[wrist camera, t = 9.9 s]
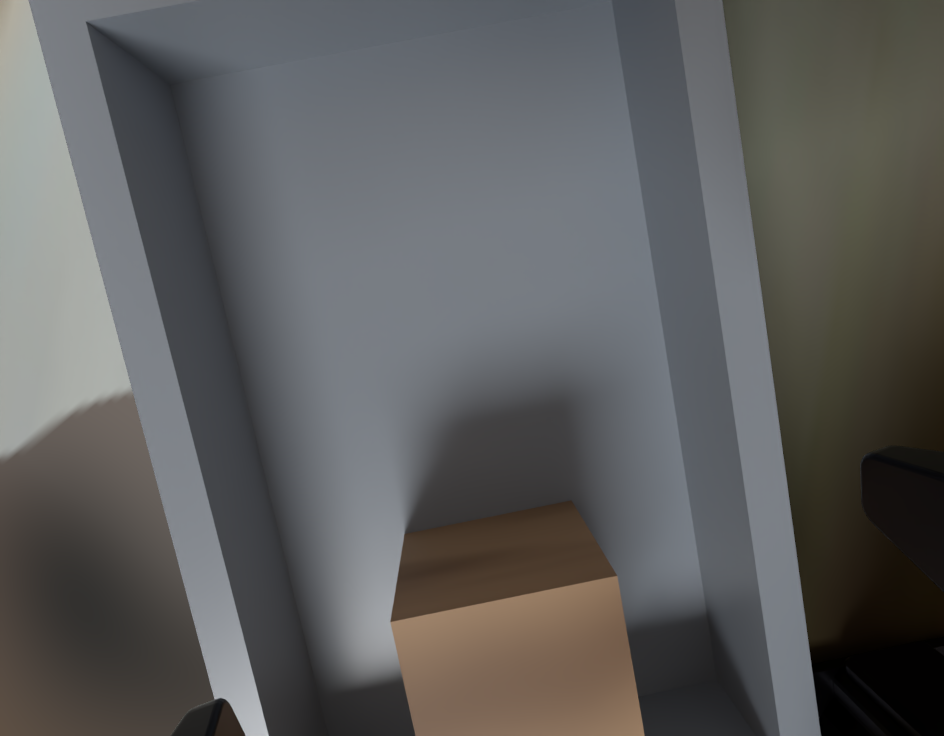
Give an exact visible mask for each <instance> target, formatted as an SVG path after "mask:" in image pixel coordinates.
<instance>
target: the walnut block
mask: <svg viewBox="0 0 944 736" xmlns="http://www.w3.org/2000/svg"><path fill="white" fill-rule="evenodd" d="M390 623H391V627H392V632H393V636H394V641H395V645H396V650H397V654H398V659H399V664H400V668H401V673H402V677H403V682H404V686H405V691H406V695H407V700H408V704H409V709H410V713H411V718H412V722H413V727H414V731H415V736H645V734H644V729H643V723H642V717H641V711H640V705H639V699H638V694H637V688H636V682H635V676H634V670H633V664H632V659H631V653H630V647H629V641H628V635H627V629H626V624H625V618H624V612H623V606H622V600H621V594H620V589H619V583H618V577H617V574H616V573H615V571H614V569H613V568H612V566H611V565H610V563H609V561H608V560H607V558H606V556H605V555H604V553H603V551H602V550H601V548H600V546H599V545H598V543H597V542H596V540H595V538H594V537H593V535H592V533H591V532H590V530H589V528H588V527H587V525H586V523H585V522H584V520H583V519H582V517H581V515H580V514H579V512H578V510H577V509H576V507H575V505H574V504H573V502H572V500H571V501H566V502H561V503H556V504H551V505H546V506H541V507H536V508H531V509H526V510H521V511H516V512H511V513H506V514H501V515H496V516H492V517H487V518H482V519H477V520H472V521H467V522H462V523H457V524H452V525H447V526H442V527H437V528H432V529H427V530H422V531H417V532H412V533H407V534H404V540H403V546H402V552H401V559H400V565H399V571H398V577H397V584H396V590H395V596H394V602H393V608H392V615H391V621H390Z"/></svg>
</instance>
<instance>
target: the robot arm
mask: <svg viewBox="0 0 944 736" xmlns="http://www.w3.org/2000/svg"><path fill="white" fill-rule="evenodd" d="M860 469H861V502H862V507H863V510H864V512H865V514H866V516H867V517H868V518H869V520H870V521H871V522H872V523H873V524H874V525H875V526H876V527H877V528H878V529H879V530H880V531H881V532H882V533H883V534H884V535H885V536H886V537H887V538H888V539H889V540H890V541H891V542H893V543H894V544H895V545H896V546H897V547H898V548H899V549H900V550H901V551H902V552H903V553H904V554H905V555H906V556H907V557H908V558H909V559H910V560H911V561H912V562H913V563H914V564H915V565H916V566H917V567H918V568H919V569H920V570H921V571H922V572H923V573H924V574H925V575H926V576H927V577H928V578H930V579H931V580H932V581H933V582H934V583H935V584H936V585H937V586H938V587H939V588H940V589H941V590H942V591H943V592H944V452H941V451H933V450H926V449H918V448H910V447H902V446H886V447H883V448H880V449H878V450H875V451H872V452H870V453H867V454H866V455H865V456H863V458H862V460H861V465H860ZM812 672H813V680H814V687H815V695H816V702H817V710H818V717H819V725H820V732H821V736H944V637H942V638H937V639H932V640H927V641H919V642H915V643H910V644H905V645H900V646H895V647H891V648H886V649H881V650H876V651H872V652H867V653H862V654H857V655H853V656H850V657H846V658H842V659H837V660H832V661H827V662H823V663H818V664H813V665H812ZM171 736H246V735H245V733H244V731H243V729H242V727H241V725H240V723H239V721H238V719H237V717H236V715H235V713H234V711H233V709H232V707H231V705H230V703H229V702H228V701H227V700H226V699H223V698H218V699H215V700H213V701H210V702H208V703H205V704H202V705H199V706H197V707H194V708H192V709H191V710H189V711H188V713H186V715H185V716H184V717H183V719H182V720H181V721H180V723H179V724H178V726H177V727H176V729H175V730H174V731H173V733H172V734H171Z"/></svg>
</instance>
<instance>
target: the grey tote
mask: <svg viewBox="0 0 944 736" xmlns="http://www.w3.org/2000/svg"><path fill="white" fill-rule="evenodd" d="M29 3H30V7H31V11H32V15H33V19H34V22H35V26H36V30H37V34H38V37H39V41H40V45H41V49H42V52H43V56H44V60H45V64H46V67H47V71H48V75H49V79H50V82H51V86H52V90H53V94H54V97H55V101H56V105H57V109H58V112H59V116H60V120H61V124H62V127H63V131H64V135H65V139H66V143H67V146H68V150H69V154H70V158H71V161H72V165H73V169H74V173H75V176H76V180H77V184H78V188H79V191H80V195H81V199H82V203H83V206H84V210H85V214H86V218H87V221H88V225H89V229H90V233H91V236H92V240H93V244H94V248H95V252H96V255H97V259H98V263H99V267H100V270H101V274H102V278H103V282H104V285H105V289H106V293H107V297H108V300H109V304H110V308H111V312H112V315H113V319H114V323H115V327H116V330H117V334H118V338H119V342H120V345H121V349H122V353H123V357H124V360H125V364H126V368H127V372H128V376H129V379H130V383H131V387H132V391H133V394H134V398H135V402H136V406H137V409H138V413H139V417H140V421H141V424H142V428H143V432H144V436H145V439H146V443H147V447H148V451H149V454H150V458H151V462H152V466H153V469H154V473H155V477H156V481H157V485H158V488H159V492H160V495H161V499H162V503H163V507H164V511H165V515H166V518H167V522H168V525H169V530H170V533H171V537H172V541H173V544H174V548H175V552H176V555H177V559H178V563H179V567H180V571H181V575H182V578H183V582H184V586H185V590H186V593H187V597H188V601H189V605H190V608H191V612H192V616H193V620H194V624H195V627H196V631H197V635H198V639H199V642H200V646H201V650H202V654H203V657H204V661H205V665H206V668H207V672H208V676H209V680H210V684H211V687H212V691H213V695H214V699H218V698H223V699H226V700H227V701H228V702H229V703H230V705H231V707H232V709H233V711H234V713H235V715H236V717H237V719H238V721H239V723H240V725H241V727H242V729H243V731H244V733H245V735H246V736H415V731H414V727H413V722H412V718H411V713H410V709H409V704H408V700H407V695H406V691H405V686H404V682H403V677H402V673H401V668H400V664H399V659H398V654H397V650H396V645H395V641H394V636H393V632H392V627H391V623H390V621H391V615H392V608H393V602H394V596H395V590H396V584H397V577H398V571H399V565H400V559H401V552H402V546H403V540H404V534H407V533H412V532H417V531H422V530H427V529H432V528H437V527H442V526H447V525H452V524H457V523H462V522H467V521H472V520H477V519H482V518H487V517H492V516H496V515H501V514H506V513H511V512H516V511H521V510H526V509H531V508H536V507H541V506H546V505H551V504H556V503H561V502H566V501H571V500H572V502H573V504H574V505H575V507H576V509H577V510H578V512H579V514H580V515H581V517H582V519H583V520H584V522H585V523H586V525H587V527H588V528H589V530H590V532H591V533H592V535H593V537H594V538H595V540H596V542H597V543H598V545H599V546H600V548H601V550H602V551H603V553H604V555H605V556H606V558H607V560H608V561H609V563H610V565H611V566H612V568H613V569H614V571H615V573H616V574H617V577H618V583H619V589H620V594H621V600H622V606H623V612H624V618H625V624H626V629H627V635H628V641H629V647H630V653H631V659H632V664H633V670H634V676H635V682H636V688H637V694H638V699H639V705H640V711H641V717H642V723H643V729H644V734H645V736H821V732H820V725H819V717H818V710H817V702H816V695H815V687H814V680H813V672H812V665H811V658H810V650H809V643H808V635H807V628H806V620H805V613H804V605H803V598H802V591H801V583H800V576H799V568H798V561H797V553H796V546H795V538H794V531H793V524H792V516H791V509H790V501H789V494H788V486H787V479H786V471H785V464H784V457H783V449H782V442H781V434H780V427H779V419H778V412H777V404H776V397H775V390H774V382H773V375H772V367H771V360H770V352H769V345H768V337H767V330H766V323H765V315H764V308H763V300H762V293H761V285H760V278H759V270H758V263H757V256H756V248H755V241H754V233H753V226H752V218H751V211H750V203H749V196H748V189H747V181H746V174H745V166H744V159H743V151H742V144H741V136H740V129H739V122H738V114H737V107H736V99H735V92H734V84H733V77H732V69H731V62H730V55H729V47H728V40H727V32H726V25H725V17H724V10H723V2H722V0H29Z"/></svg>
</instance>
